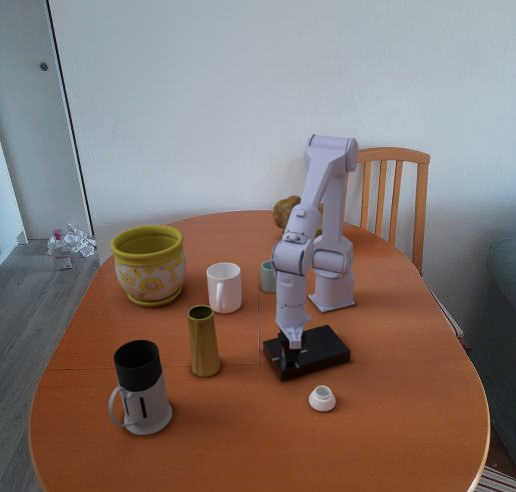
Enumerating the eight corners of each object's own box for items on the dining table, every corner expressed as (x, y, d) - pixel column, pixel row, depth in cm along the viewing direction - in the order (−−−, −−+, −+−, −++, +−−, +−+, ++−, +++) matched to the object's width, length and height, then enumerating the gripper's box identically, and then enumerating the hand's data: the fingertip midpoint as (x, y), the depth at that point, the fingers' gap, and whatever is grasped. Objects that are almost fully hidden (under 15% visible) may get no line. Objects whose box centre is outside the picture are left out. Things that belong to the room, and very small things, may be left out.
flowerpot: (127, 320, 109) (115, 262, 101) (116, 285, 124) (105, 232, 116) (197, 302, 116) (192, 246, 108) (179, 271, 130) (173, 219, 122)
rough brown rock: (273, 259, 137) (274, 216, 129) (271, 232, 151) (272, 192, 142) (348, 260, 137) (354, 217, 129) (339, 233, 151) (345, 193, 143)
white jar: (327, 390, 88) (304, 397, 86) (327, 378, 87) (304, 386, 85) (340, 408, 84) (316, 416, 82) (341, 396, 82) (317, 404, 81)
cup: (276, 280, 125) (276, 258, 121) (284, 290, 120) (284, 267, 117) (258, 284, 123) (258, 262, 120) (265, 294, 119) (265, 271, 115)
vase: (197, 381, 91) (191, 324, 84) (187, 363, 96) (180, 308, 89) (225, 371, 93) (221, 315, 86) (213, 354, 98) (209, 300, 91)
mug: (236, 324, 107) (234, 288, 102) (202, 322, 108) (199, 286, 103) (244, 297, 118) (242, 263, 113) (213, 295, 119) (210, 261, 114)
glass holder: (179, 402, 86) (170, 340, 79) (147, 465, 74) (132, 400, 66) (137, 395, 88) (125, 334, 80) (99, 456, 76) (80, 391, 68)
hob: (327, 334, 103) (327, 323, 102) (350, 362, 95) (352, 351, 93) (261, 352, 98) (261, 341, 97) (280, 383, 90) (280, 372, 88)
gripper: (318, 320, 80) (315, 377, 86) (306, 278, 92) (303, 331, 99) (279, 322, 79) (279, 379, 86) (272, 280, 92) (272, 332, 99)
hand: (290, 353), depth 92 cm, fingers closed on hob knob, 3 cm apart
